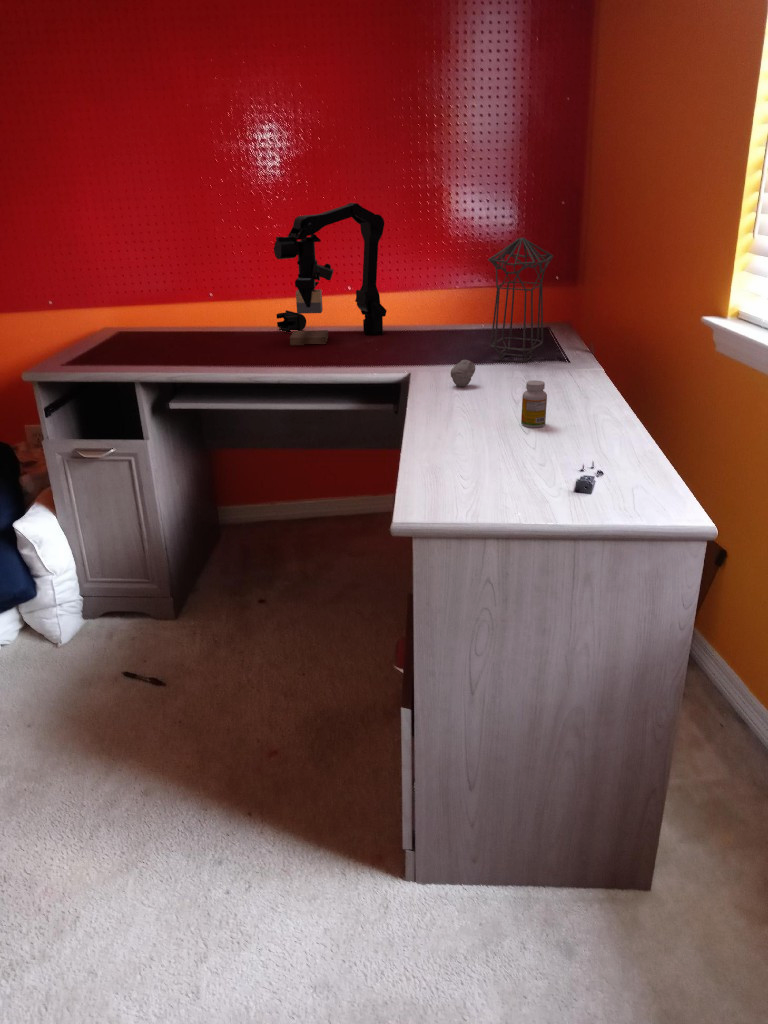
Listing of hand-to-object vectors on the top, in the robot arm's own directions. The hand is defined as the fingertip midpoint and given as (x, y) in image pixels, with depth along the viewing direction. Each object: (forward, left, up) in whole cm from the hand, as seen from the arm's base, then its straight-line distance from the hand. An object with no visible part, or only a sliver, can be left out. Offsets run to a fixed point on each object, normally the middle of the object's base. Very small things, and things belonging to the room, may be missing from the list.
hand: (309, 305), depth 263 cm
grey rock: (-45, +63, -12) cm, 79 cm away
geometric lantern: (-64, +33, -12) cm, 73 cm away
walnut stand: (+1, -1, -12) cm, 12 cm away
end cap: (+9, -21, -12) cm, 26 cm away
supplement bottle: (-58, +98, -12) cm, 115 cm away
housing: (0, 0, -2) cm, 2 cm away
